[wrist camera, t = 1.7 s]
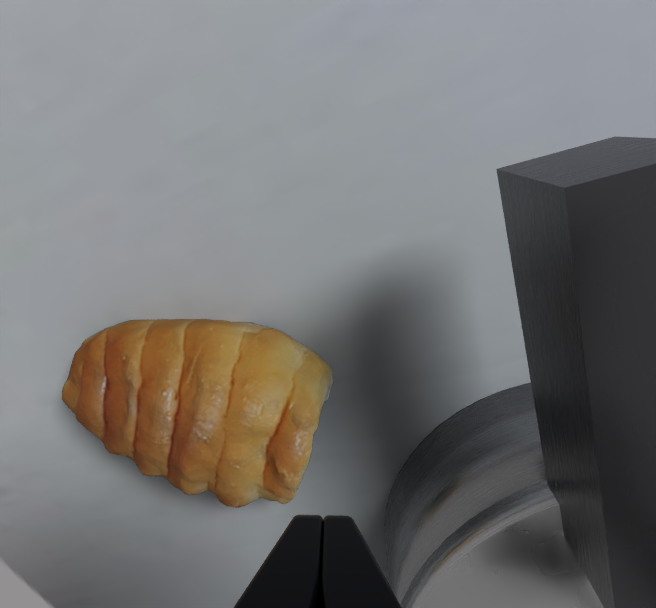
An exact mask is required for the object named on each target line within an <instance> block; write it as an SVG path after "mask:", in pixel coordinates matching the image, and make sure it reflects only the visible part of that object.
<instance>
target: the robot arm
mask: <svg viewBox="0 0 656 608" xmlns="http://www.w3.org/2000/svg"><path fill="white" fill-rule="evenodd" d="M234 608H402V607H401V605H400V603H399V602H398V600H397V598H396V596H395V594H394V593H393V591H392V589H391V587H390V585H389V584H388V582H387V580H386V578H385V576H384V574H383V573H382V571H381V569H380V567H379V565H378V564H377V562H376V560H375V558H374V556H373V555H372V553H371V551H370V549H369V547H368V546H367V544H366V542H365V540H364V538H363V537H362V535H361V533H360V531H359V529H358V528H357V526H356V524H355V522H354V520H353V519H352V518H351V517H350V516H333V515H328V516H326V517H325V518H324V520H323V519H322V517H321V516H319V515H297V516H295V517H294V518H293V519H292V521H291V522H290V524H289V525H288V527H287V528H286V530H285V531H284V533H283V534H282V536H281V537H280V539H279V540H278V542H277V543H276V545H275V546H274V548H273V549H272V551H271V552H270V554H269V555H268V557H267V558H266V560H265V561H264V563H263V564H262V566H261V567H260V569H259V570H258V572H257V573H256V575H255V576H254V578H253V579H252V581H251V582H250V584H249V585H248V587H247V588H246V590H245V591H244V593H243V594H242V596H241V597H240V599H239V600H238V602H237V603H236V605H235V606H234Z"/></svg>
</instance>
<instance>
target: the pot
mask: <svg viewBox="0 0 656 608" xmlns="http://www.w3.org/2000/svg"><path fill="white" fill-rule="evenodd" d="M544 480H547V478H546V472H545V466H544V460H543V453H542V447H541V441H540V435H539V429H538V422H537V416H536V410H535V404H534V398H533V391H532V385H531V383H528V384H524V385H520V386H517V387H513V388H510V389H506V390H503V391H500V392H498V393H496V394H493V395H491V396H488V397H486V398H483V399H481V400H479V401H477V402H475V403H473V404H472V405H470V406H468V407H466V408H464V409H463V410H461V411H459V412H458V413H456V414H455V415H453V416H452V417H450V418H449V419H448V420H446V421H445V422H443V423H442V424H441V425H439V426H438V427H437V428H436V429H435V430H434V431H433V432H432V433H431V434H430V435H428V436H427V437H426V438H425V439H424V440H423V441H422V443H421V444H420V445H419V446H418V447H417V448H416V450H415V451H414V452H413V453H412V454H411V455H410V457H409V458H408V460H407V462H406V463H405V465H404V466H403V468H402V469H401V471H400V472H399V475H398V477H397V479H396V481H395V483H394V486H393V488H392V490H391V493H390V497H389V500H388V504H387V508H386V516H385V524H384V525H385V544H386V552H387V561H388V570H389V578H390V587H391V589H392V591H393V593H394V594H395V596H396V598H397V600H398V602H399V603H400V605H401V602H402V599H403V597H404V595H405V593H406V591H407V590H408V588H409V586H410V584H411V582H412V580H413V578H414V577H415V575H416V574H417V573H418V571H419V570H420V568H421V567H422V566H423V564H424V563H425V561H426V560H427V559H428V557H429V556H430V555H431V554H432V553H433V552H434V551H435V550H436V549H437V548H438V547H439V546H440V545H441V544H442V543H443V542H444V540H445V539H446V538H447V537H449V536H450V535H451V534H452V533H453V532H455V531H456V530H457V529H458V528H460V527H461V526H462V525H463V524H464V523H466V522H467V521H468V520H469V519H471V518H472V517H474V516H475V515H477V514H478V513H480V512H482V511H483V510H485V509H486V508H488V507H489V506H491V505H492V504H494V503H496V502H497V501H499V500H501V499H503V498H505V497H507V496H509V495H511V494H513V493H515V492H517V491H519V490H521V489H523V488H525V487H528V486H531V485H533V484H536V483H539V482H541V481H544Z"/></svg>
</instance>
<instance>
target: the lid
mask: <svg viewBox="0 0 656 608" xmlns="http://www.w3.org/2000/svg"><path fill="white" fill-rule="evenodd" d="M497 174H498V181H499V187H500V193H501V199H502V205H503V212H504V218H505V224H506V230H507V236H508V243H509V249H510V255H511V261H512V267H513V274H514V280H515V286H516V292H517V298H518V305H519V311H520V317H521V323H522V329H523V336H524V342H525V348H526V354H527V360H528V367H529V373H530V379H531V385H532V391H533V398H534V404H535V410H536V416H537V422H538V429H539V435H540V441H541V447H542V453H543V460H544V466H545V472H546V478H547V480H544V481H541V482H539V483H536V484H533V485H531V486H528V487H525V488H523V489H521V490H519V491H517V492H515V493H513V494H511V495H509V496H507V497H505V498H503V499H501V500H499V501H497V502H496V503H494V504H492V505H491V506H489V507H488V508H486V509H485V510H483V511H482V512H480V513H478V514H477V515H475V516H474V517H472V518H471V519H469V520H468V521H467V522H466V523H464V524H463V525H462V526H461V527H460V528H458V529H457V530H456V531H455V532H453V533H452V534H451V535H450V536H449V537H447V538H446V539H445V540H444V542H443V543H442V544H441V545H440V546H439V547H438V548H437V549H436V550H435V551H434V552H433V553H432V554H431V555H430V556H429V557H428V559H427V560H426V561H425V563H424V564H423V566H422V567H421V568H420V570H419V571H418V573H417V574H416V575H415V577H414V578H413V580H412V582H411V584H410V586H409V588H408V590H407V591H406V593H405V595H404V597H403V599H402V602H401V607H402V608H656V138H634V137H612V138H608V139H605V140H601V141H597V142H594V143H590V144H586V145H583V146H579V147H575V148H572V149H568V150H564V151H561V152H557V153H553V154H550V155H546V156H542V157H539V158H535V159H532V160H528V161H524V162H521V163H517V164H513V165H510V166H506V167H502V168H499V169H497Z"/></svg>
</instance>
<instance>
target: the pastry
mask: <svg viewBox="0 0 656 608" xmlns="http://www.w3.org/2000/svg"><path fill="white" fill-rule="evenodd" d="M332 385H333V375H332V371H331V368H330V367H329V365H328V364H327V363H326V362H325V361H324V360H323V359H322V358H321V357H319V356H318V355H317V354H316V353H314V352H313V351H311V350H310V349H308V348H307V347H305V346H304V345H302V344H300V343H299V342H297V341H296V340H294V339H293V338H291V337H289V336H288V335H286V334H284V333H283V332H281V331H279V330H276V329H273V328H268V327H264V326H261V325H257V324H254V323H250V322H230V321H224V320H208V319H174V320H168V319H161V320H130V321H126V322H123V323H120V324H117V325H115V326H112V327H109V328H106V329H104V330H102V331H100V332H98V333H96V334H94V335H93V336H91V337H89V338H87V339H86V340H85V341H84V342H83V343H82V345H81V347H80V348H79V349H78V350H77V351H76V353H75V355H74V358H73V361H72V365H71V368H70V372H69V377H68V379H67V381H66V382H65V384H64V387H63V390H62V400H63V401H64V402H65V404H66V405H67V406H68V407H69V408H70V409H71V410H72V411H73V412H74V414H75V415H76V418H77V420H78V421H79V422H80V423H81V424H82V425H83V426H84V427H85V428H86V429H87V430H89V431H90V432H92V433H93V434H94V435H96V436H97V437H98V438H100V439H101V440H102V441H103V443H104V445H105V448H106V449H107V450H108V452H110V453H114V454H118V455H123V456H127V457H129V458H131V459H132V460H133V461H134V462H135V463H136V464H137V466H138V467H139V469H140V471H141V472H142V473H143V474H144V475H147V476H163V477H165V478H167V479H168V480H169V482H170V483H171V484H173V485H174V486H175V487H177V488H179V489H180V490H181V491H183V492H184V493H185V494H187V495H196V494H199V493H202V492H203V491H207V490H208V491H211V492H213V493H214V494H215V495H216V497H217V498H218V500H219V501H220V502H221V503H223V504H224V505H226V506H231V507H242V506H245V505H247V504H249V503H251V502H253V501H254V500H256V499H258V498H264V499H267V500H270V501H278V502H279V503H282V504H285V503H288V502H290V501H291V500H292V499H293V498H294V496H295V495H296V492H297V489H298V486H299V484H300V482H301V480H302V478H303V475H304V472H305V469H306V467H307V465H308V463H309V461H310V457H311V453H312V445H313V434H314V433H315V431H316V430H317V428H318V425H319V416H320V413H321V410H322V406H323V404H324V403H325V402H326V401H327V400H328V398H329V394H330V390H331V387H332Z"/></svg>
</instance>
